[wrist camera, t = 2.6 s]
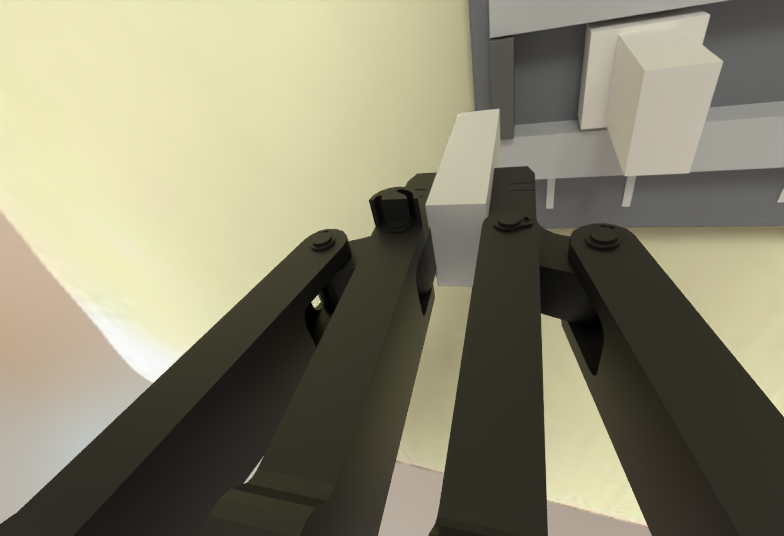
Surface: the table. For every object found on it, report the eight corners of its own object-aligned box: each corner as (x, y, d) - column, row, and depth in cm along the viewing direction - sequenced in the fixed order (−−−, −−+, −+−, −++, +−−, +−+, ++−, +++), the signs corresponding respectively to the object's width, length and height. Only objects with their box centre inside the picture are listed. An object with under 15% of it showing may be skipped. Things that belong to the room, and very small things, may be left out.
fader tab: (586, 23, 17) (609, 68, 12) (695, 6, 16) (768, 48, 11) (577, 115, 20) (593, 182, 15) (671, 106, 19) (722, 176, 14)
